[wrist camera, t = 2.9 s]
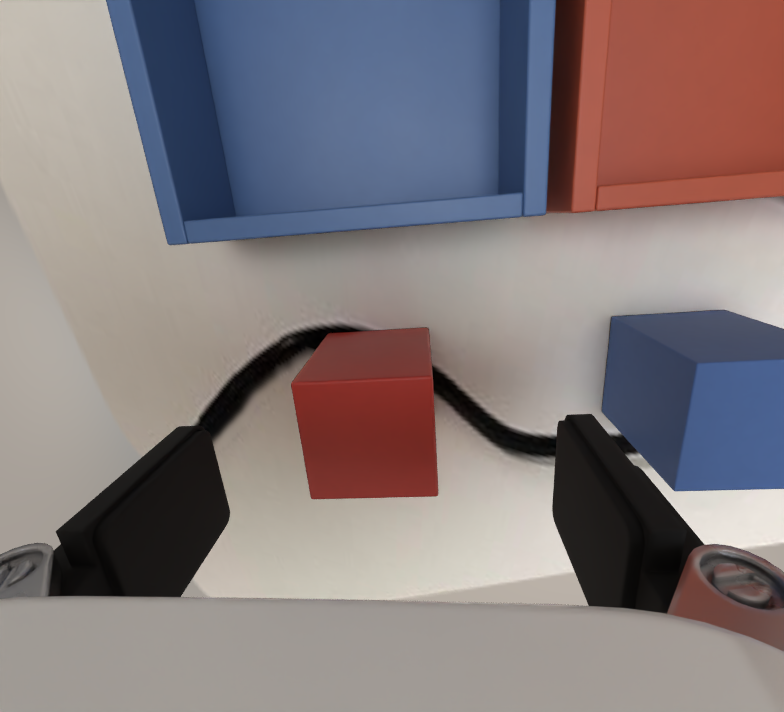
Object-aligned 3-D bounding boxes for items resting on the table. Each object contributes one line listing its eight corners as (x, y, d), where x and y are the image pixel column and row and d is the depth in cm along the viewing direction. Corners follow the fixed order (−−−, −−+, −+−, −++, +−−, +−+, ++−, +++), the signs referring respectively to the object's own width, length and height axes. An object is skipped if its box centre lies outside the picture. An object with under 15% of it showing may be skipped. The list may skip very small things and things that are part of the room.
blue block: (601, 411, 16) (673, 491, 12) (610, 316, 15) (697, 363, 10) (705, 407, 16) (823, 488, 11) (725, 309, 15) (867, 355, 10)
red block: (339, 422, 17) (310, 500, 13) (327, 332, 16) (289, 383, 11) (433, 418, 17) (438, 497, 12) (428, 326, 16) (432, 376, 11)
